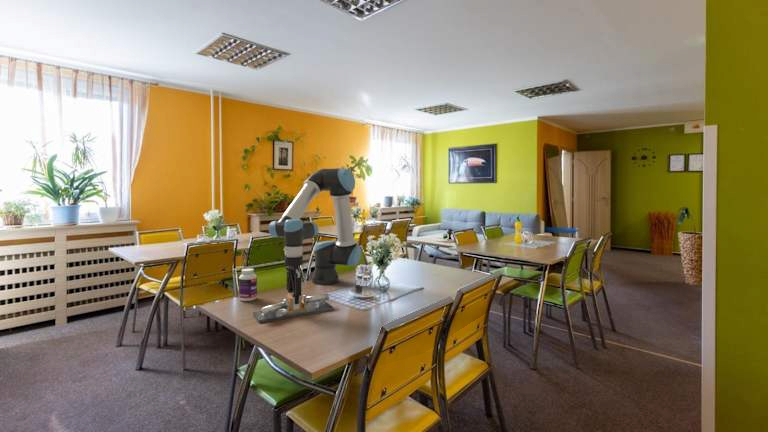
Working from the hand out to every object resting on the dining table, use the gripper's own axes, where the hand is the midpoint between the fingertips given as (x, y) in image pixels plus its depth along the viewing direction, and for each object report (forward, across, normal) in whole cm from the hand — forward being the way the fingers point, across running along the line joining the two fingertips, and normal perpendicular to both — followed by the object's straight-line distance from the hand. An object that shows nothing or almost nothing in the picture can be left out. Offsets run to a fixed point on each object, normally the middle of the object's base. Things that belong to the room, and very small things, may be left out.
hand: (293, 309), depth 158 cm
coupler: (0, 0, 0) cm, 0 cm away
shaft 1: (0, +3, -9) cm, 10 cm away
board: (+1, 0, 0) cm, 1 cm away
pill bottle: (+2, -29, -13) cm, 32 cm away
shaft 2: (0, 0, +10) cm, 10 cm away
